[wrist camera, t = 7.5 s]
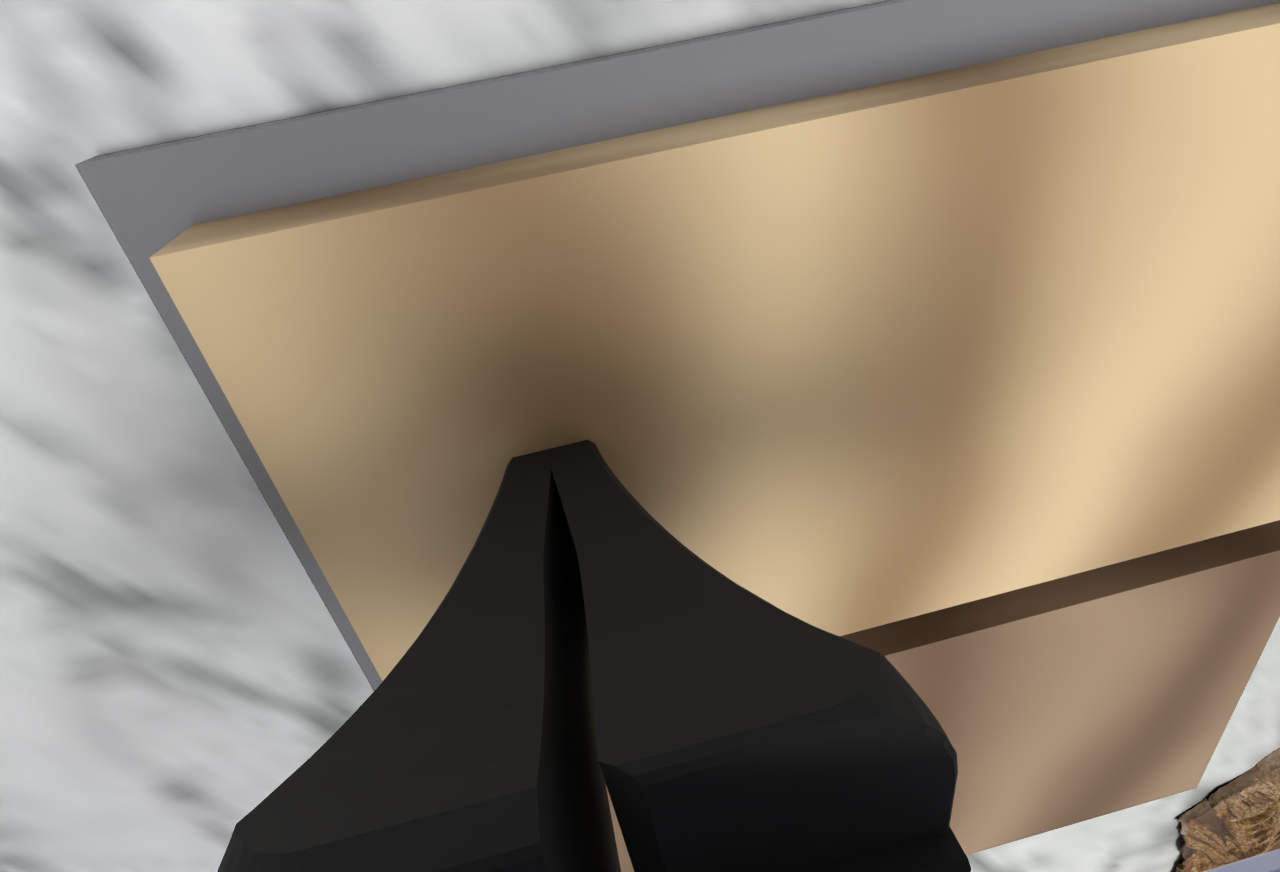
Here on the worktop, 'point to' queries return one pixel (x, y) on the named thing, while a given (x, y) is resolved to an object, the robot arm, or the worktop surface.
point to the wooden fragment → (1234, 820)
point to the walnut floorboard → (1087, 683)
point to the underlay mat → (558, 133)
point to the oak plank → (794, 333)
